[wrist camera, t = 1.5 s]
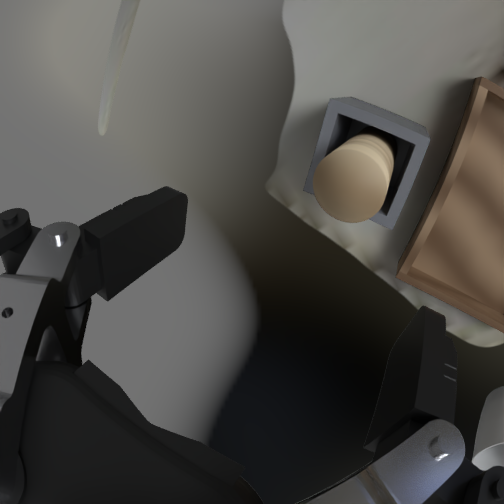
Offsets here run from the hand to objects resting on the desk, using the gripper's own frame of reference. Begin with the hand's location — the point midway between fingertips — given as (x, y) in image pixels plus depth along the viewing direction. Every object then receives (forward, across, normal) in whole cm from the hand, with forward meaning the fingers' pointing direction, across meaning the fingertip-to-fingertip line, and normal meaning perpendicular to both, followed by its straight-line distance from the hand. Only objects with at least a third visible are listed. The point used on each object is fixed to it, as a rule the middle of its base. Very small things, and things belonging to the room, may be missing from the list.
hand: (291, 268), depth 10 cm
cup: (+22, -32, +21) cm, 44 cm away
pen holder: (+22, 0, 0) cm, 22 cm away
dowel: (+22, 0, 0) cm, 22 cm away
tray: (+22, -14, 0) cm, 26 cm away
